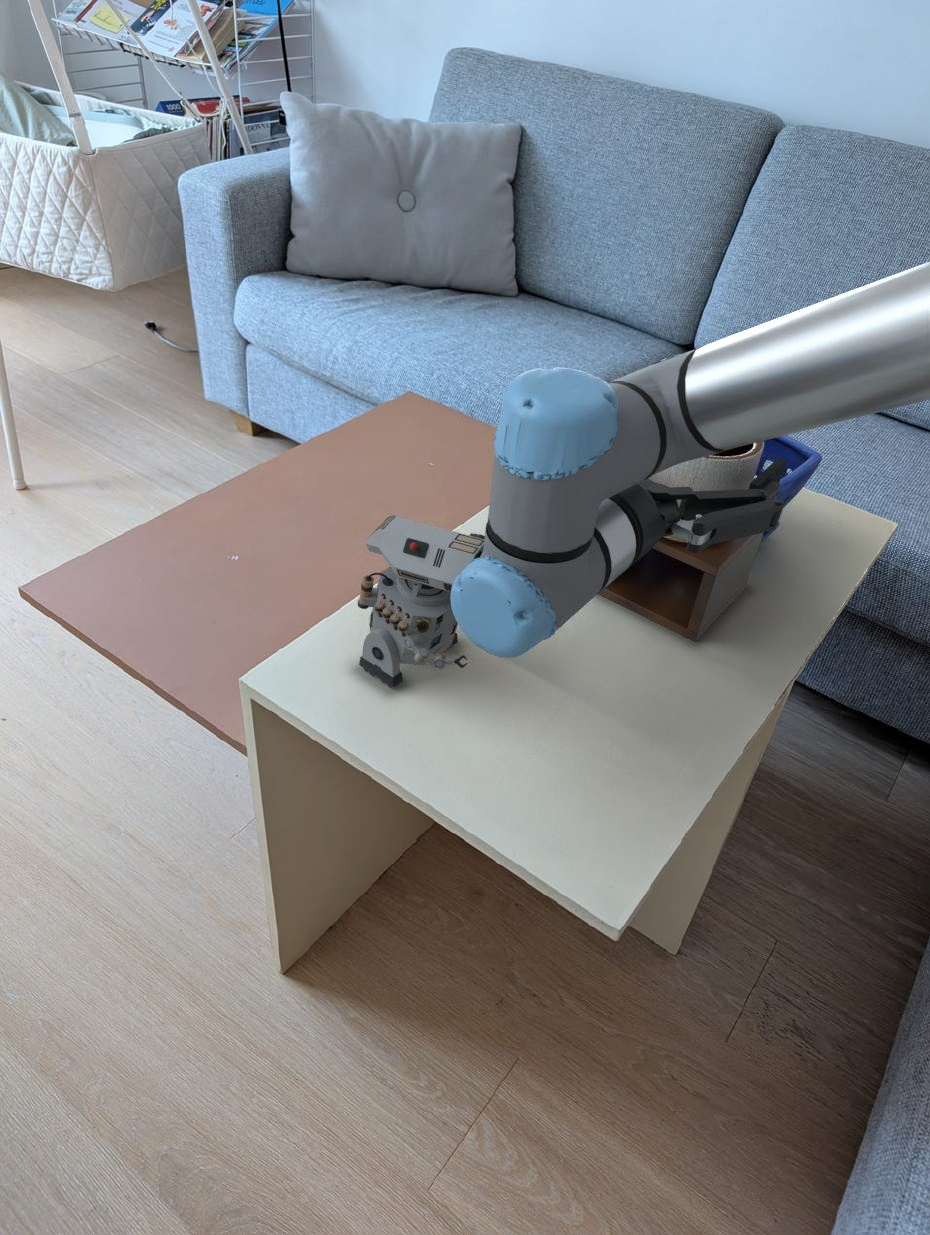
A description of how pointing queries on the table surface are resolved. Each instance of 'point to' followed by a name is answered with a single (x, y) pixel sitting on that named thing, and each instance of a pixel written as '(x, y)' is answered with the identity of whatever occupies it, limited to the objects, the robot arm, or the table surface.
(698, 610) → the shelf
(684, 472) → the planter
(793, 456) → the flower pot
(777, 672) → the table surface
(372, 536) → the figurine
